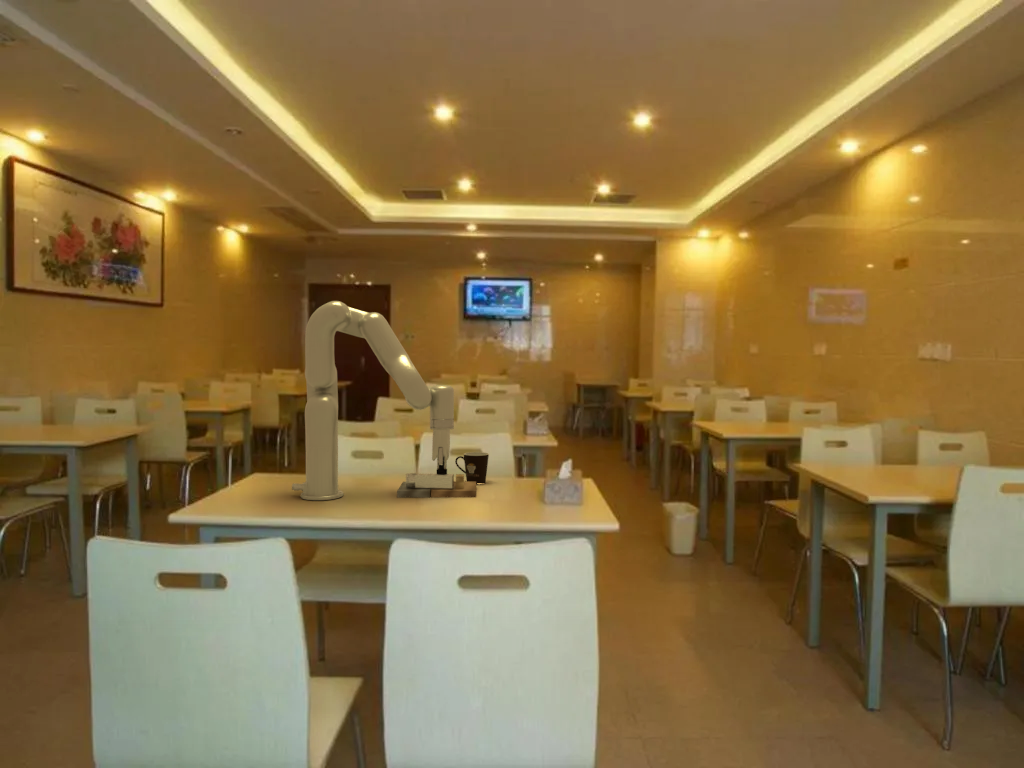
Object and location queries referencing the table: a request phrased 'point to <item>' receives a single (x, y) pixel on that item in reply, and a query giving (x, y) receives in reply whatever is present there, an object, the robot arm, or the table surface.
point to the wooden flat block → (441, 490)
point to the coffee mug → (475, 466)
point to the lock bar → (429, 480)
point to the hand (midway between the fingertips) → (441, 481)
